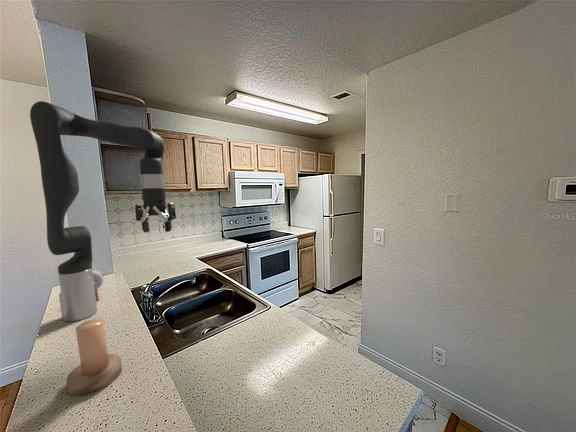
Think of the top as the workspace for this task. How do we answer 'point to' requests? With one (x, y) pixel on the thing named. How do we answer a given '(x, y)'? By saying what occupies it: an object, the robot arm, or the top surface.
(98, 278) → the donut
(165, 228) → the robot arm
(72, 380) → the brown disc
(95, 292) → the lighter
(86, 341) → the tan rounded post
